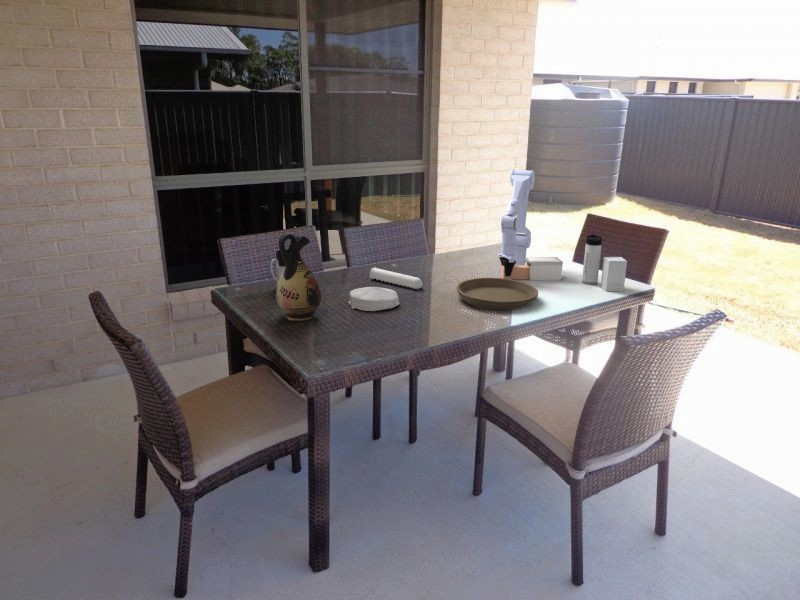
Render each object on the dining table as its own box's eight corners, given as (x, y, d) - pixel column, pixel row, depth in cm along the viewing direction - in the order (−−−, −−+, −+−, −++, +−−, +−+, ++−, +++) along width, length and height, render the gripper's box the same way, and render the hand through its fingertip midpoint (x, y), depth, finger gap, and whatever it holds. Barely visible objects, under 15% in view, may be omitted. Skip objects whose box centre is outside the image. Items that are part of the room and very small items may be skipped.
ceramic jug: (301, 307, 222) (297, 226, 213) (331, 316, 213) (328, 232, 204) (264, 319, 210) (258, 233, 200) (294, 329, 200) (289, 240, 191)
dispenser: (522, 275, 266) (523, 257, 263) (555, 274, 267) (556, 257, 264) (527, 280, 258) (528, 262, 255) (561, 279, 259) (563, 261, 256)
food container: (341, 299, 233) (340, 282, 230) (390, 293, 239) (389, 276, 237) (356, 316, 215) (356, 298, 213) (408, 309, 222) (408, 291, 219)
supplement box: (624, 291, 243) (627, 261, 239) (605, 291, 243) (608, 260, 239) (618, 286, 250) (621, 256, 246) (600, 286, 250) (603, 256, 246)
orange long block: (501, 276, 263) (501, 265, 261) (537, 276, 264) (538, 265, 262) (503, 279, 259) (503, 267, 258) (540, 278, 260) (540, 267, 259)
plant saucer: (553, 300, 232) (554, 289, 231) (503, 318, 212) (504, 306, 211) (490, 283, 254) (490, 272, 252) (439, 298, 234) (439, 287, 232)
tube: (425, 278, 246) (378, 268, 260) (418, 277, 241) (371, 266, 256) (423, 291, 246) (376, 280, 261) (415, 290, 242) (368, 278, 256)
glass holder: (302, 286, 247) (300, 250, 243) (282, 295, 235) (279, 258, 230) (284, 283, 251) (282, 248, 246) (263, 292, 238) (261, 255, 234)
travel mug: (595, 280, 258) (600, 234, 251) (598, 285, 251) (604, 237, 245) (580, 280, 258) (585, 234, 252) (583, 284, 252) (588, 237, 246)
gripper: (495, 240, 263) (493, 270, 267) (503, 247, 249) (501, 279, 253) (511, 240, 264) (509, 270, 268) (520, 247, 250) (517, 279, 254)
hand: (506, 274), depth 261 cm, fingers closed on orange long block, 4 cm apart
